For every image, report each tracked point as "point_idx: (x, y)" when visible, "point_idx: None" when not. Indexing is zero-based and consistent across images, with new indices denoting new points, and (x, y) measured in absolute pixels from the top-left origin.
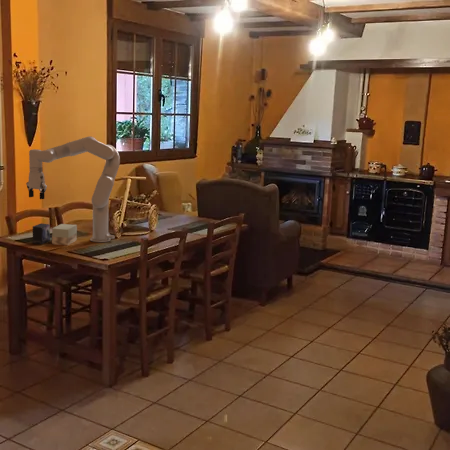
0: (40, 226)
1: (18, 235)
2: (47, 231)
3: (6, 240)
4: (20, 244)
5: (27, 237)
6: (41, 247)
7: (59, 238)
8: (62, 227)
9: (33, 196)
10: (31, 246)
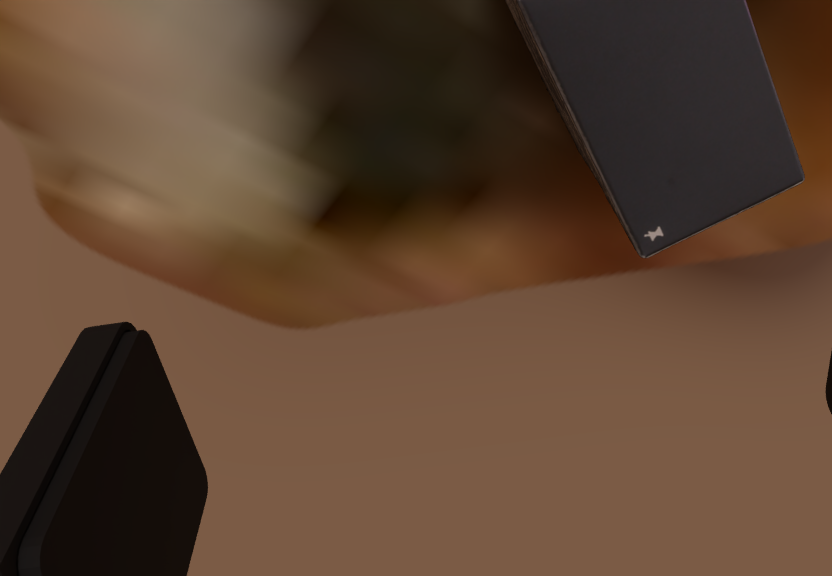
0: (736, 159)
1: (55, 67)
2: None
3: (259, 301)
4: (527, 275)
5: (238, 30)
6: (819, 171)
7: None
8: None
9: (144, 338)
10: None
